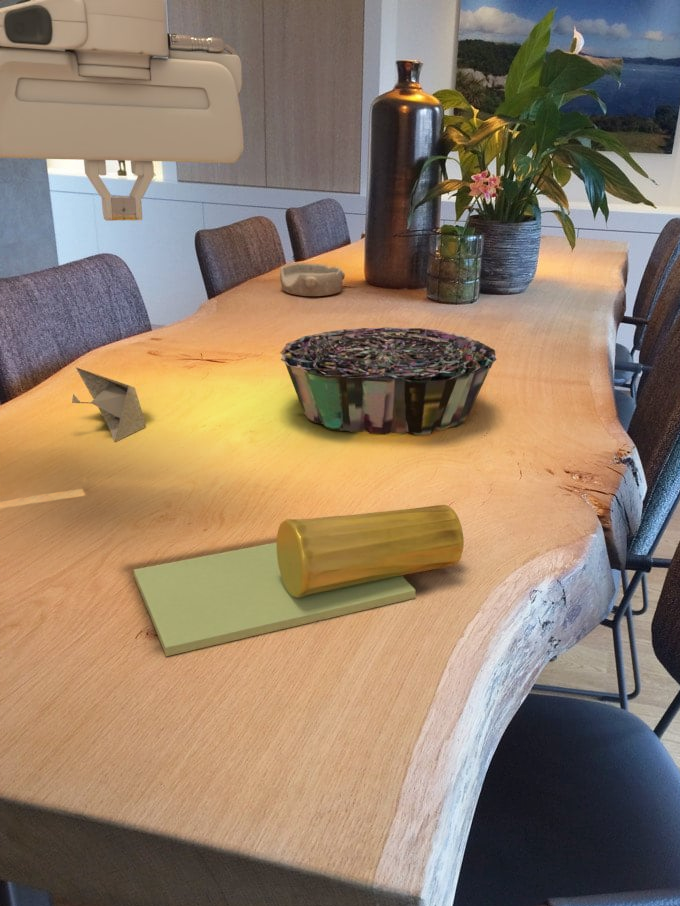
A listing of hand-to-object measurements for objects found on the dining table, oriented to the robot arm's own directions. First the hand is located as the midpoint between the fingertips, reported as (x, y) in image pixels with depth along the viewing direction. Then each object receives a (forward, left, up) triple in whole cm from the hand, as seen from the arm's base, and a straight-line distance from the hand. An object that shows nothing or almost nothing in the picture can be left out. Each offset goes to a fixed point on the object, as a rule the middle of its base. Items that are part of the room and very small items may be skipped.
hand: (122, 219), depth 69 cm
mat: (+6, -18, -27) cm, 33 cm away
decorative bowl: (+34, +18, -27) cm, 47 cm away
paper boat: (0, +26, -27) cm, 37 cm away
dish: (+54, +96, -27) cm, 113 cm away
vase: (+6, -21, -23) cm, 31 cm away
